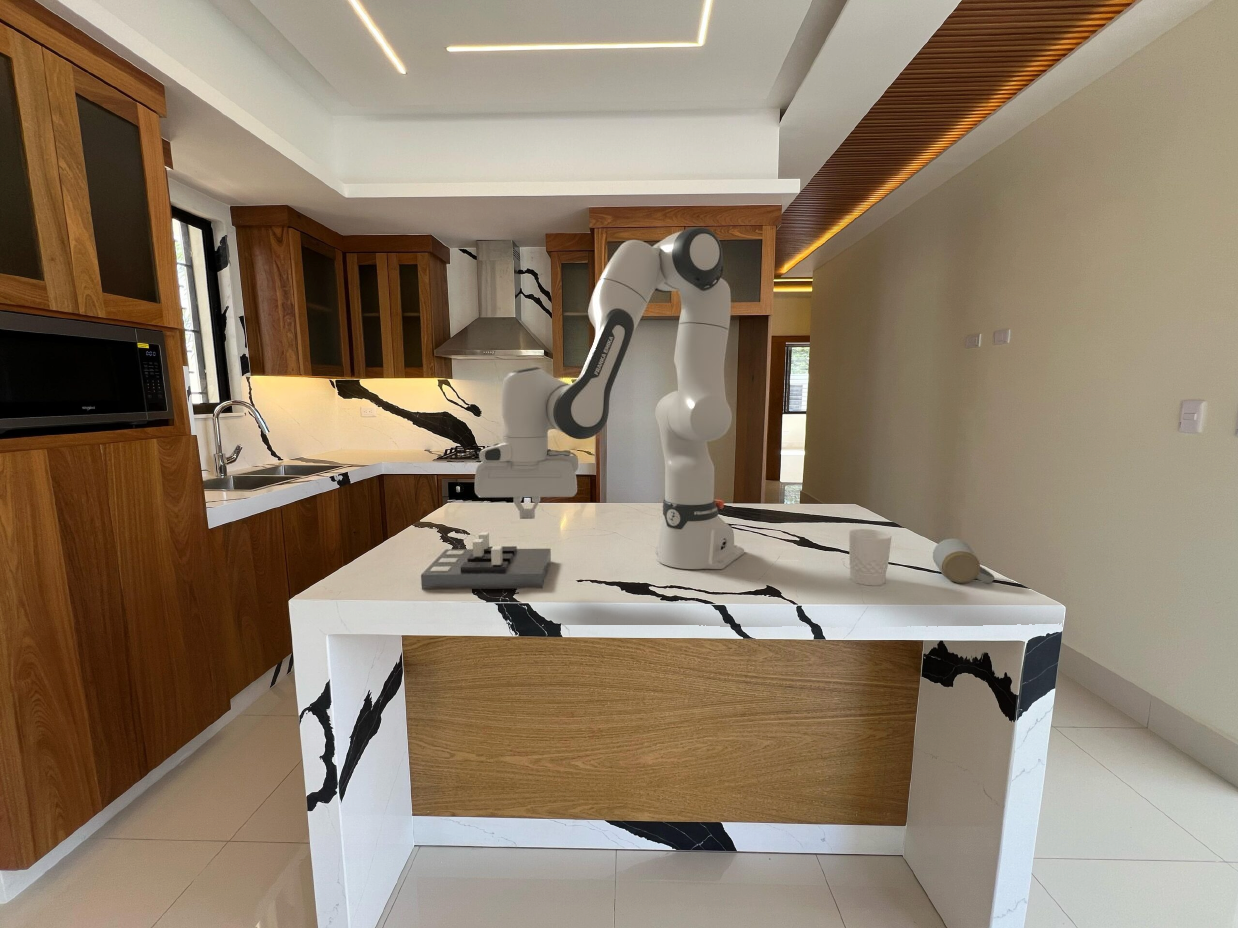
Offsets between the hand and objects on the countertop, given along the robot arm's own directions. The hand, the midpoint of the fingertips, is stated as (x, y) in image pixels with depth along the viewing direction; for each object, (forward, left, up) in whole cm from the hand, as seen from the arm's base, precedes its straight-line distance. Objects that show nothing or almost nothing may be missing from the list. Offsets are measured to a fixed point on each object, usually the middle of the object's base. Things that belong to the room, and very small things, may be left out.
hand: (527, 518), depth 112 cm
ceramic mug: (-64, +64, -14) cm, 92 cm away
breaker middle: (+4, -12, -9) cm, 16 cm away
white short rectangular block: (0, -16, -9) cm, 18 cm away
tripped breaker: (+5, -5, -9) cm, 11 cm away
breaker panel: (+3, -10, -14) cm, 17 cm away
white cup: (-49, +50, -14) cm, 72 cm away
